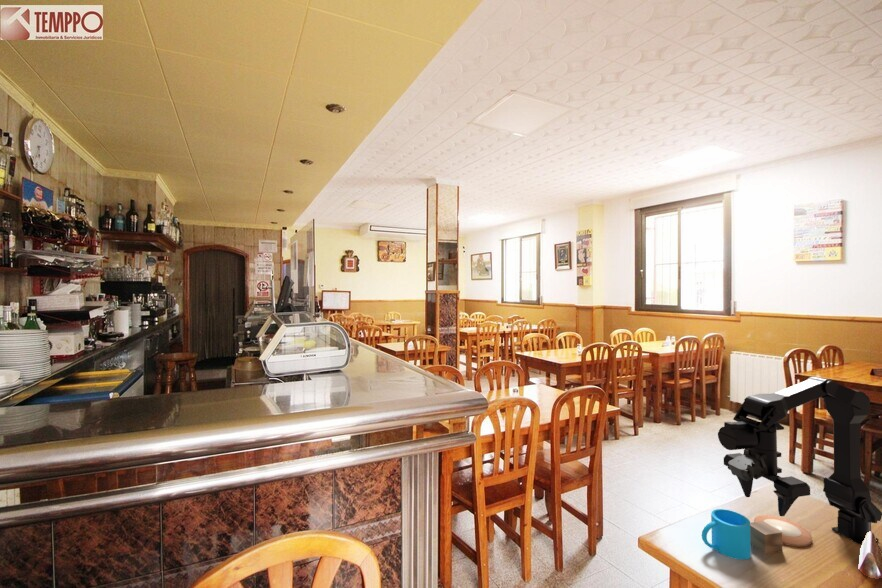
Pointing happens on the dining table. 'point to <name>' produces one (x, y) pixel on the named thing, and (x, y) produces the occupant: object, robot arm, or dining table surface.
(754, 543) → the walnut block
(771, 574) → the dining table surface
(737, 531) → the mug
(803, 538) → the terracotta dish
